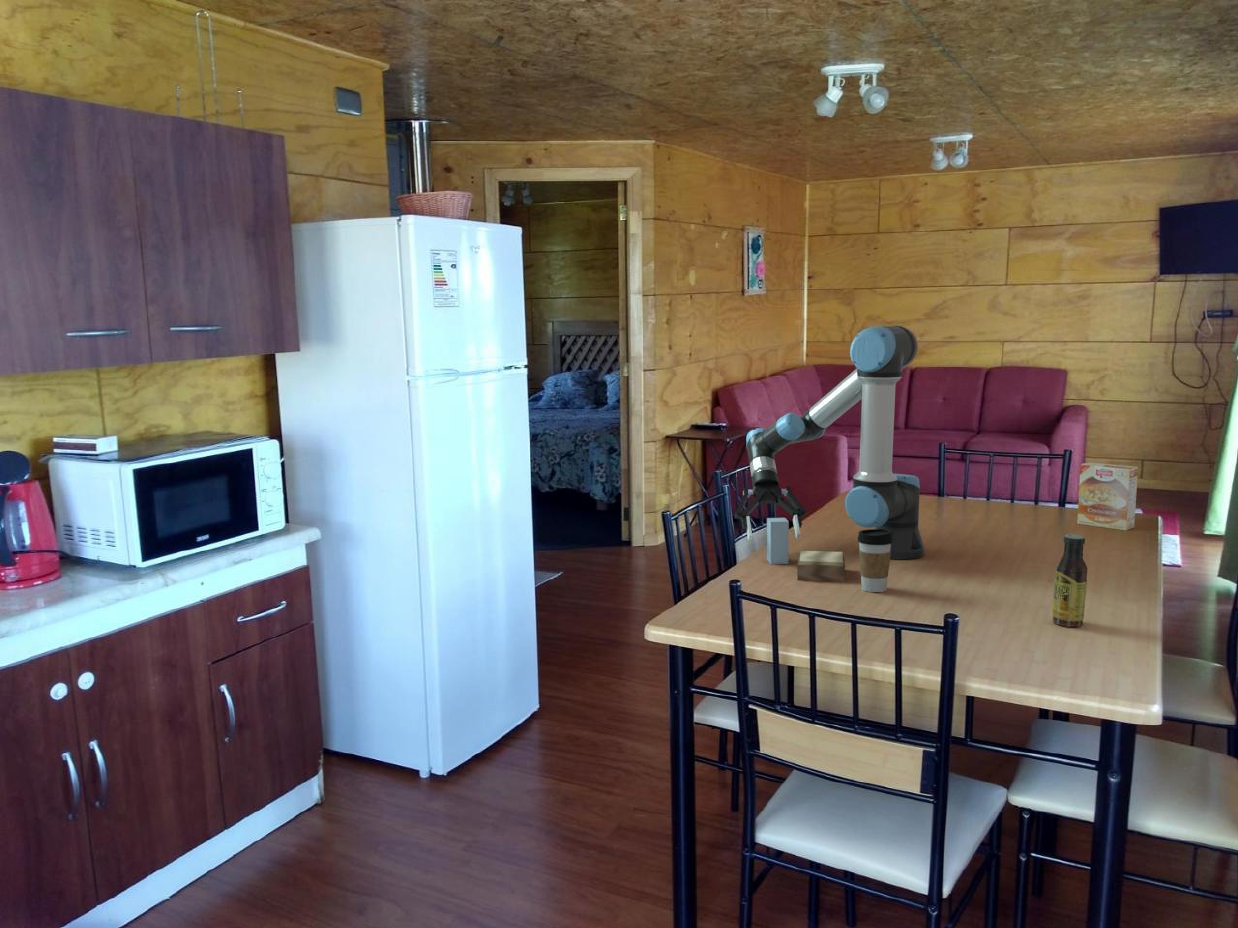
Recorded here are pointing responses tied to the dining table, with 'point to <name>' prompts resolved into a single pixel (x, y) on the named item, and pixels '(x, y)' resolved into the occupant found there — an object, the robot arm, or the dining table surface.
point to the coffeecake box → (1107, 495)
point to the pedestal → (821, 566)
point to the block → (777, 540)
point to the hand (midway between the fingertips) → (774, 537)
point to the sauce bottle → (1070, 584)
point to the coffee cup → (874, 558)
